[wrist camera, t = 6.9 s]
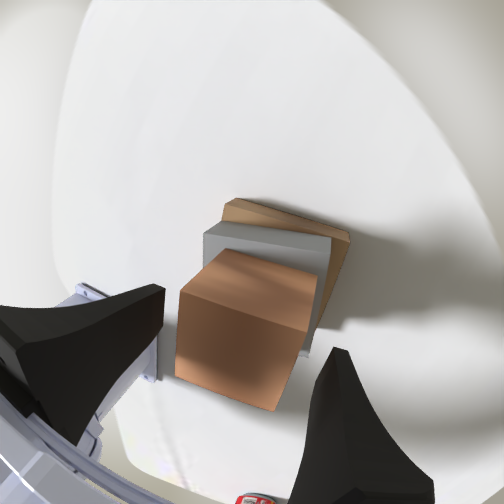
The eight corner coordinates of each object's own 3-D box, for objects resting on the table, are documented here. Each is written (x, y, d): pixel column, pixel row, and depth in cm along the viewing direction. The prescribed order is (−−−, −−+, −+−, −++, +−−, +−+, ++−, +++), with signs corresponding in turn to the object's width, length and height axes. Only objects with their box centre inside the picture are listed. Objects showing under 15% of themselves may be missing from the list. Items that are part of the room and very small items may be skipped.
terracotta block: (212, 322, 16) (174, 375, 12) (225, 247, 14) (180, 290, 10) (291, 348, 15) (273, 412, 11) (317, 275, 13) (307, 332, 9)
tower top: (218, 312, 18) (203, 334, 16) (221, 220, 16) (203, 232, 14) (312, 331, 17) (308, 357, 15) (331, 237, 15) (330, 254, 13)
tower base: (218, 291, 21) (205, 308, 19) (238, 196, 18) (224, 203, 16) (312, 323, 20) (309, 344, 18) (348, 229, 17) (350, 242, 15)
